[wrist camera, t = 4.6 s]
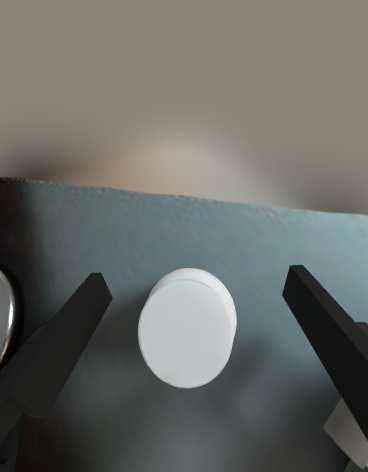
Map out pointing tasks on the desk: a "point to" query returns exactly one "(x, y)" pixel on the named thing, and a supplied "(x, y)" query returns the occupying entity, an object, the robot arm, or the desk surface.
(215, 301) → the pill bottle
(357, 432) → the storage drawer
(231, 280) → the desk surface
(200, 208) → the desk surface
